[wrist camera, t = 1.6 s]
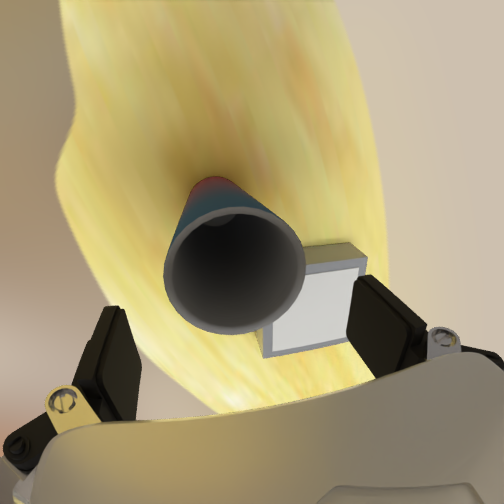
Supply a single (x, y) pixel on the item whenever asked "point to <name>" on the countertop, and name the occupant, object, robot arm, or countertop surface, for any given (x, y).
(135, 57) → the countertop surface
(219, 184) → the cup
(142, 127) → the countertop surface
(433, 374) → the robot arm
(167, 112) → the countertop surface
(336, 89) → the countertop surface
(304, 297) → the riser
